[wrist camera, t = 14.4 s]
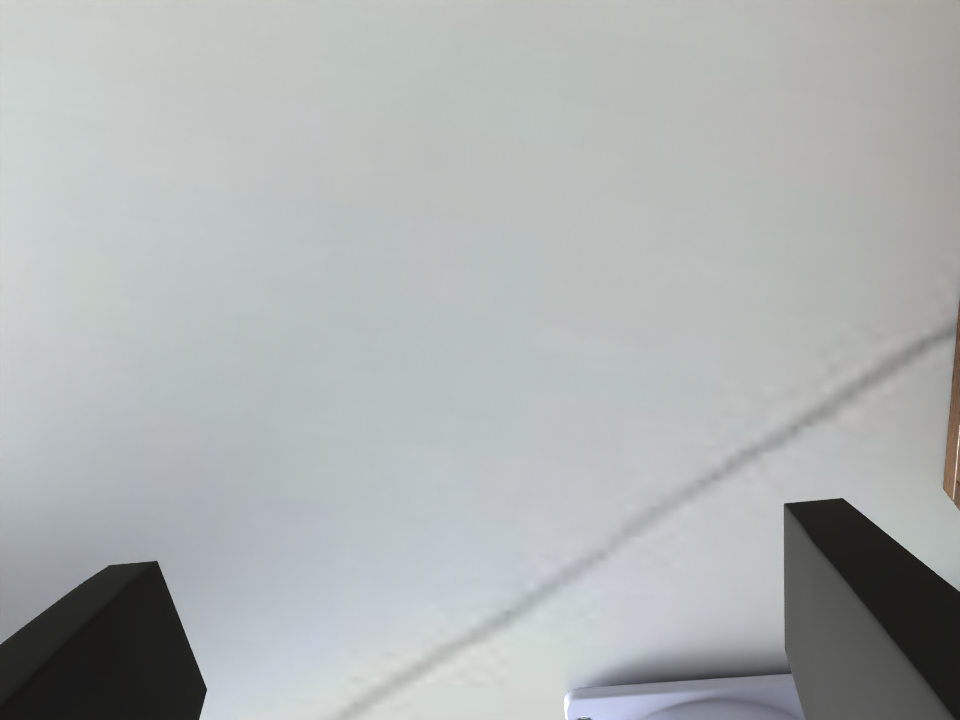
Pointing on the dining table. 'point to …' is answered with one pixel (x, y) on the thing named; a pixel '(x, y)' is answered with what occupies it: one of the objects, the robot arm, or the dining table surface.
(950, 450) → the compartment tray
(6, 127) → the dining table surface
